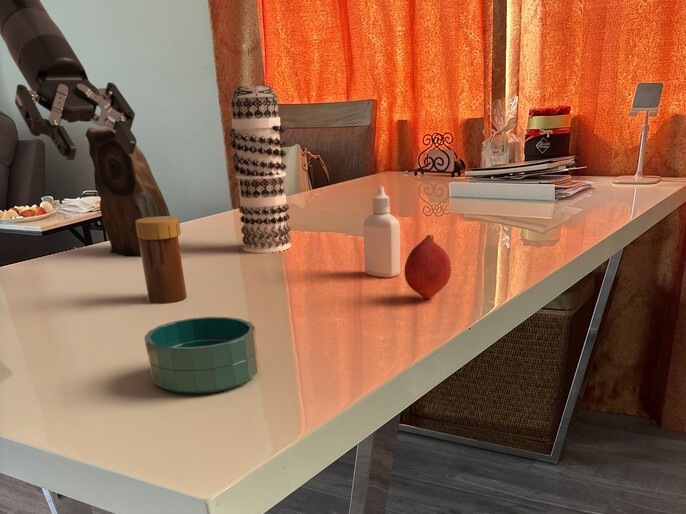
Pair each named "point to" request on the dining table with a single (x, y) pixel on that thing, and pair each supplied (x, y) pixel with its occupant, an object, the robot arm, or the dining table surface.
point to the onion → (427, 268)
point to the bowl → (202, 354)
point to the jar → (163, 270)
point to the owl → (123, 190)
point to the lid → (157, 228)
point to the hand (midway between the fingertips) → (103, 152)
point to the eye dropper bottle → (382, 239)
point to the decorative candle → (260, 169)
